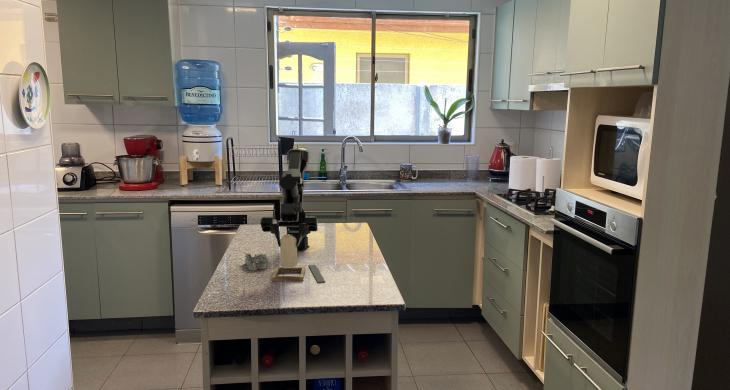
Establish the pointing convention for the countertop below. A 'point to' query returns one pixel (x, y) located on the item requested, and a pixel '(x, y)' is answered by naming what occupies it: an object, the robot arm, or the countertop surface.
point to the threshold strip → (316, 274)
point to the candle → (288, 251)
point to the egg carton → (256, 261)
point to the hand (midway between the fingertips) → (288, 246)
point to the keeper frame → (288, 278)
